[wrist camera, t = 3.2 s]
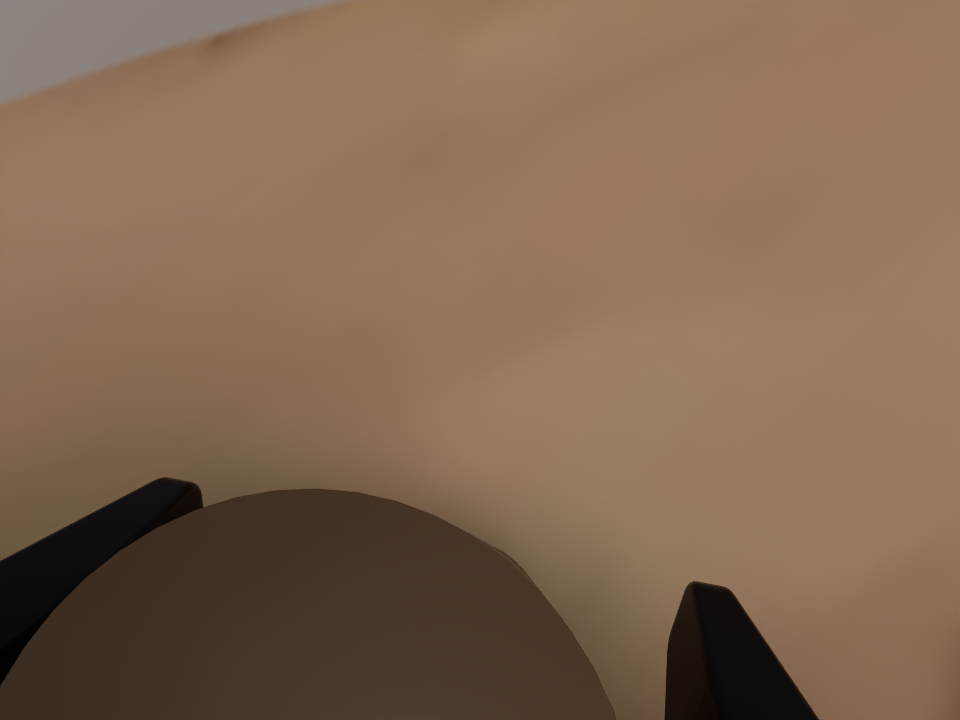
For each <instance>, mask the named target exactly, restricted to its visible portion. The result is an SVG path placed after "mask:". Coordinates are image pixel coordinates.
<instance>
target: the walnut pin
mask: <svg viewBox="0 0 960 720" xmlns="http://www.w3.org/2000/svg"><path fill="white" fill-rule="evenodd" d="M0 720H616V717H615V714H614V711H613V708H612V706H611V704H610V702H609V700H608V698H607V695H606V693H605V691H604V689H603V687H602V685H601V683H600V680H599V678H598V676H597V674H596V672H595V670H594V668H593V666H592V664H591V662H590V661H589V659H588V658H587V656H586V654H585V653H584V651H583V650H582V648H581V646H580V645H579V643H578V642H577V640H576V638H575V637H574V635H573V634H572V632H571V630H570V629H569V627H568V626H567V625H566V623H565V622H564V621H563V619H562V618H561V617H560V616H559V614H558V613H557V612H556V610H555V609H554V608H553V607H552V605H551V604H550V603H549V602H548V600H547V599H546V598H545V596H544V595H543V594H542V593H541V591H540V590H539V589H538V587H537V586H536V585H535V584H534V582H533V581H532V580H531V579H530V577H529V576H528V575H527V574H526V572H525V571H524V570H523V569H522V567H520V566H519V565H518V564H517V563H516V562H515V561H514V560H513V559H512V558H510V557H509V556H508V555H506V554H505V553H503V552H502V551H500V550H498V549H496V548H494V547H492V546H491V545H489V544H487V543H485V542H483V541H481V540H479V539H478V538H476V537H474V536H472V535H470V534H468V533H466V532H465V531H463V530H461V529H459V528H457V527H455V526H453V525H452V524H450V523H448V522H446V521H444V520H442V519H440V518H439V517H437V516H434V515H432V514H429V513H426V512H424V511H421V510H418V509H416V508H413V507H410V506H408V505H405V504H403V503H400V502H397V501H393V500H389V499H384V498H380V497H375V496H371V495H367V494H362V493H358V492H348V491H337V490H326V489H298V490H276V491H270V492H264V493H259V494H253V495H248V496H242V497H236V498H233V499H230V500H226V501H223V502H220V503H217V504H214V505H210V506H207V507H204V508H201V509H198V510H195V511H193V512H191V513H188V514H186V515H184V516H182V517H180V518H177V519H175V520H173V521H171V522H169V523H167V524H164V525H162V526H160V527H158V528H156V529H154V530H153V531H151V532H150V533H148V534H146V535H145V536H143V537H142V538H140V539H138V540H137V541H135V542H133V543H132V544H130V545H129V546H127V547H125V548H124V549H122V550H120V551H119V552H118V553H117V554H115V555H114V556H113V557H112V558H110V559H109V560H108V561H107V562H105V563H104V564H103V565H102V566H100V567H99V568H98V569H97V570H95V571H94V572H93V573H92V574H90V575H89V576H88V577H86V578H85V579H84V580H83V581H82V582H81V583H80V584H79V585H78V586H77V587H76V588H75V589H74V590H73V591H72V592H71V593H70V594H69V595H68V596H67V597H66V598H65V599H64V600H63V601H62V602H61V603H60V604H59V605H58V606H57V607H56V608H55V609H54V611H53V612H52V613H51V614H50V616H49V617H48V618H47V619H46V621H45V622H44V623H43V624H42V626H41V627H40V628H39V630H38V631H37V632H36V633H35V635H34V636H33V637H32V638H31V640H30V641H29V642H28V643H27V645H26V646H25V647H24V649H23V650H22V652H21V654H20V655H19V657H18V659H17V660H16V662H15V663H14V665H13V667H12V668H11V670H10V671H9V673H8V675H7V676H6V678H5V679H4V681H3V683H2V684H1V686H0Z"/></svg>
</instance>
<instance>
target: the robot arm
mask: <svg viewBox="0 0 960 720" xmlns="http://www.w3.org/2000/svg"><path fill="white" fill-rule="evenodd" d="M201 508H203V501H202V494H201V490H200V488H199V486H198V485H197V484H195V483H193V482H189V481H183V480H178V479H173V478H168V477H164V478H159V479H157V480H154V481H152V482H150V483H148V484H147V485H145V486H143V487H141V488H139V489H137V490H135V491H133V492H131V493H129V494H127V495H126V496H124V497H122V498H120V499H118V500H116V501H114V502H112V503H110V504H108V505H106V506H105V507H103V508H101V509H99V510H97V511H95V512H93V513H91V514H89V515H87V516H85V517H83V518H82V519H80V520H78V521H76V522H74V523H72V524H70V525H68V526H66V527H64V528H62V529H61V530H59V531H57V532H55V533H53V534H51V535H49V536H47V537H45V538H43V539H41V540H40V541H38V542H36V543H34V544H32V545H30V546H28V547H26V548H24V549H22V550H20V551H18V552H17V553H15V554H13V555H11V556H9V557H7V558H5V559H3V560H1V561H0V686H1V684H2V683H3V681H4V679H5V678H6V676H7V675H8V673H9V671H10V670H11V668H12V667H13V665H14V663H15V662H16V660H17V659H18V657H19V655H20V654H21V652H22V650H23V649H24V647H25V646H26V645H27V643H28V642H29V641H30V640H31V638H32V637H33V636H34V635H35V633H36V632H37V631H38V630H39V628H40V627H41V626H42V624H43V623H44V622H45V621H46V619H47V618H48V617H49V616H50V614H51V613H52V612H53V611H54V609H55V608H56V607H57V606H58V605H59V604H60V603H61V602H62V601H63V600H64V599H65V598H66V597H67V596H68V595H69V594H70V593H71V592H72V591H73V590H74V589H75V588H76V587H77V586H78V585H79V584H80V583H81V582H82V581H83V580H84V579H85V578H86V577H88V576H89V575H90V574H92V573H93V572H94V571H95V570H97V569H98V568H99V567H100V566H102V565H103V564H104V563H105V562H107V561H108V560H109V559H110V558H112V557H113V556H114V555H115V554H117V553H118V552H119V551H120V550H122V549H124V548H125V547H127V546H129V545H130V544H132V543H133V542H135V541H137V540H138V539H140V538H142V537H143V536H145V535H146V534H148V533H150V532H151V531H153V530H154V529H156V528H158V527H160V526H162V525H164V524H167V523H169V522H171V521H173V520H175V519H177V518H180V517H182V516H184V515H186V514H188V513H191V512H193V511H195V510H198V509H201ZM665 720H819V719H818V717H817V716H816V714H815V713H814V711H813V710H812V708H811V707H810V705H809V704H808V703H807V701H806V700H805V698H804V697H803V695H802V694H801V692H800V691H799V689H798V688H797V686H796V685H795V683H794V682H793V680H792V679H791V678H790V676H789V675H788V673H787V672H786V670H785V669H784V667H783V666H782V664H781V663H780V661H779V660H778V658H777V657H776V655H775V654H774V653H773V651H772V650H771V648H770V647H769V645H768V644H767V642H766V641H765V639H764V638H763V636H762V635H761V633H760V632H759V630H758V629H757V627H756V626H755V625H754V623H753V622H752V620H751V619H750V617H749V616H748V614H747V613H746V611H745V610H744V608H743V607H742V605H741V604H740V602H739V601H738V600H737V598H736V597H735V595H734V594H733V593H732V592H731V591H730V590H729V589H728V588H726V587H723V586H718V585H713V584H708V583H703V582H697V581H694V582H691V583H689V584H688V586H687V587H686V589H685V591H684V594H683V597H682V600H681V603H680V606H679V609H678V612H677V615H676V618H675V621H674V623H673V626H672V629H671V633H670V637H669V642H668V650H667V672H666V699H665Z"/></svg>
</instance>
